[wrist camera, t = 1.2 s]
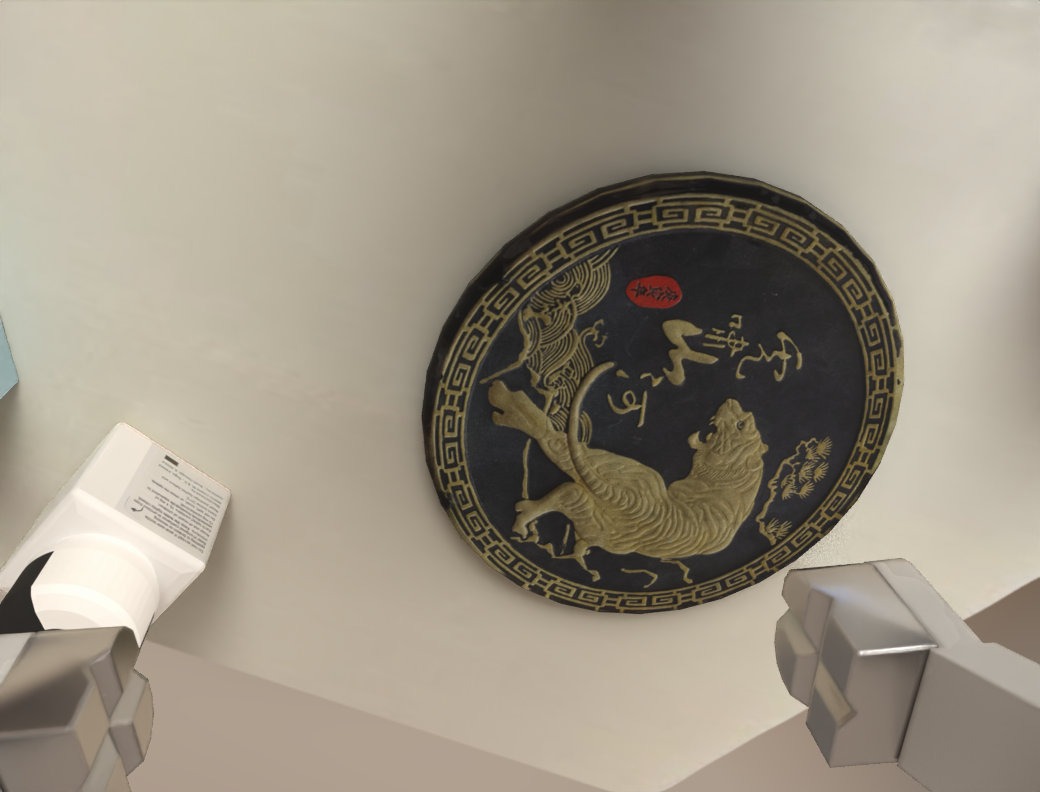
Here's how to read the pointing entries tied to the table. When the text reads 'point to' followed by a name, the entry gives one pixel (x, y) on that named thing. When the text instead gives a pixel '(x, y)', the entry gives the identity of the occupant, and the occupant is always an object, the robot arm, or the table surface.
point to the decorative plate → (662, 392)
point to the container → (114, 541)
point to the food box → (6, 365)
